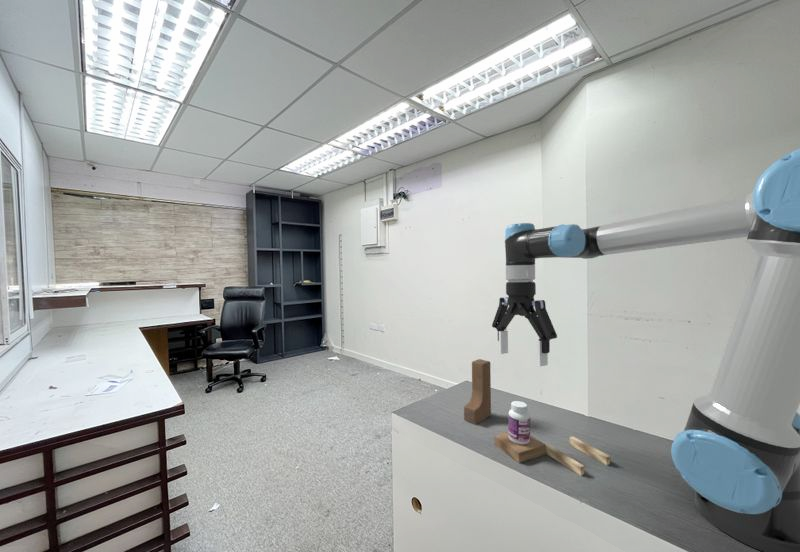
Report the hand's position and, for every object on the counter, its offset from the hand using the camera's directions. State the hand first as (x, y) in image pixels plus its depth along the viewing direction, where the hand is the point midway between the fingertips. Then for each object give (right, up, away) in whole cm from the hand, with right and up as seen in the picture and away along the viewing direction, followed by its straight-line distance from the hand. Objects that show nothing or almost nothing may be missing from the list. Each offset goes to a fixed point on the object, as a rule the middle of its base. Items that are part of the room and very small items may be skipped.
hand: (521, 359), depth 84 cm
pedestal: (-1, -24, -2) cm, 24 cm away
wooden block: (-8, -24, +16) cm, 30 cm away
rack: (+11, -23, -6) cm, 27 cm away
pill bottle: (-1, -21, -2) cm, 21 cm away
